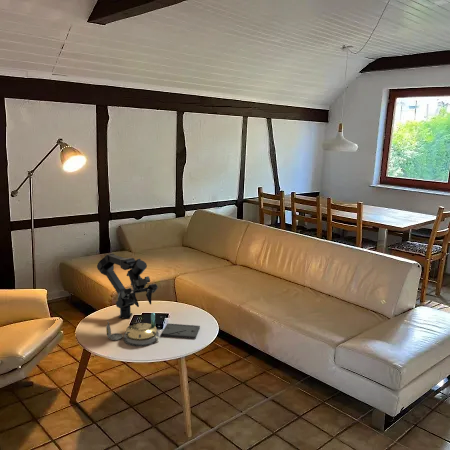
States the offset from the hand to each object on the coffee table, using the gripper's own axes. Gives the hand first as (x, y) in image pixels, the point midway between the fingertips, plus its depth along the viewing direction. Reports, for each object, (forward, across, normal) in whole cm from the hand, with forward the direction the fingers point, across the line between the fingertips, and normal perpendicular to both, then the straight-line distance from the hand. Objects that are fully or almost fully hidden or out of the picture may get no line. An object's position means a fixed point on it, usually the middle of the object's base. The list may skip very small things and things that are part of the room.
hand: (144, 305), depth 234 cm
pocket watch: (+10, -18, +9) cm, 22 cm away
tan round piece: (+14, -6, +2) cm, 15 cm away
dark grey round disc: (+16, -6, +3) cm, 17 cm away
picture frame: (+19, +14, +1) cm, 24 cm away
